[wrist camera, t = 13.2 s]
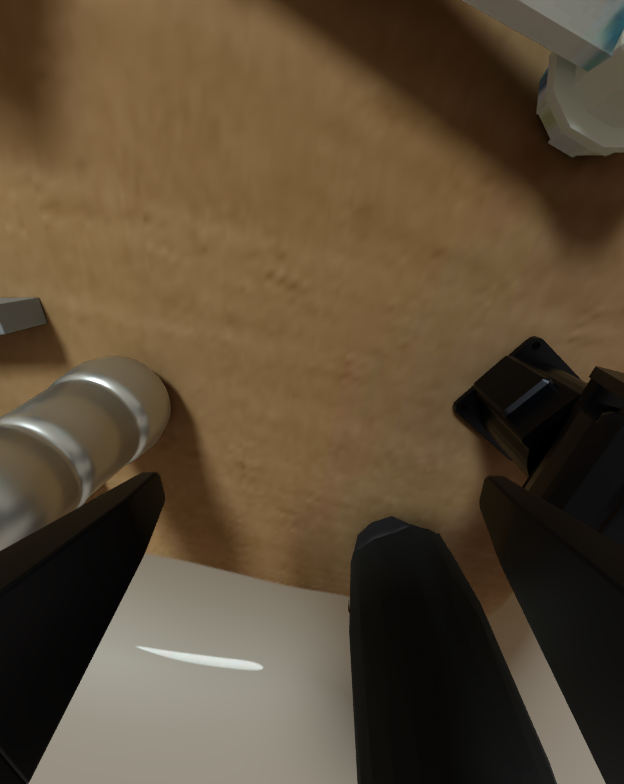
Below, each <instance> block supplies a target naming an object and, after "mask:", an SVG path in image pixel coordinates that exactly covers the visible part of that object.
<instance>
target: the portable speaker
mask: <svg viewBox="0 0 624 784" xmlns="http://www.w3.org/2000/svg"><path fill="white" fill-rule="evenodd" d="M348 611H349V613H350V626H349V628H350V629H349V634H350V652H351V672H352V689H353V707H354V726H355V744H356V763H357V781H358V784H557V783H556V780H555V777H554V774H553V771H552V768H551V766H550V763H549V760H548V758H547V756H546V753H545V751H544V749H543V747H542V744H541V742H540V740H539V737H538V735H537V733H536V730H535V728H534V726H533V723H532V721H531V719H530V717H529V714H528V712H527V710H526V707H525V705H524V703H523V700H522V698H521V696H520V694H519V691H518V689H517V687H516V684H515V682H514V680H513V677H512V675H511V673H510V670H509V668H508V666H507V664H506V661H505V659H504V657H503V654H502V652H501V650H500V647H499V645H498V643H497V641H496V638H495V636H494V633H493V631H492V629H491V626H490V624H489V622H488V620H487V617H486V615H485V613H484V610H483V608H482V606H481V603H480V602H479V600H478V598H477V597H476V595H475V593H474V591H473V590H472V588H471V586H470V584H469V583H468V581H467V579H466V577H465V576H464V574H463V572H462V570H461V569H460V567H459V565H458V564H457V562H456V560H455V558H454V557H453V555H452V553H451V552H450V550H449V549H448V547H447V546H446V544H445V542H444V541H443V539H442V538H441V536H440V534H439V533H438V534H436V533H434V532H432V531H430V530H428V529H424V528H420V527H417V526H414V525H411V524H408V523H406V522H403V521H401V520H399V519H397V518H395V517H392V516H391V517H388V518H385V519H382V520H379V521H376V522H373V523H371V524H370V525H368V526H367V527H366V528H365V529H364V530H363V531H362V532H361V533H360V534H358V537H357V541H356V546H355V550H354V552H353V556H352V560H351V576H350V608H349V606H348Z"/></svg>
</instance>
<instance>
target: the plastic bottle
mask: <svg viewBox="0 0 624 784" xmlns="http://www.w3.org/2000/svg"><path fill="white" fill-rule="evenodd" d="M170 414H171V403H170V398H169V395H168V392H167V390H166V388H165V385H164V384H163V382H162V381H161V379H160V378H159V377H158V376H157V375H156V374H155V373H154V372H153V371H152V370H151V369H149V368H148V367H146V366H145V365H143V364H141V363H139V362H137V361H135V360H132V359H129V358H125V357H119V356H113V357H105V358H100V359H95V360H90V361H87V362H83V363H81V364H80V365H78V366H76V367H74V368H73V369H71V370H70V371H68V372H67V373H66V374H64V375H63V376H61V377H60V378H59V379H58V380H57V381H55V382H54V383H53V384H52V385H51V386H50V387H49V388H48V389H46V390H45V391H43V392H41V393H40V394H38V395H37V396H35V397H33V398H32V399H30V400H29V401H27V402H25V403H24V404H22V405H20V406H19V407H17V408H16V409H14V410H12V411H11V412H9V413H7V414H6V415H4V416H2V417H0V551H1V550H3V549H5V548H6V547H8V546H10V545H12V544H14V543H15V542H17V541H19V540H21V539H23V538H24V537H26V536H28V535H30V534H32V533H34V532H35V531H37V530H39V529H41V528H43V527H44V526H46V525H48V524H50V523H52V522H53V521H55V520H57V519H59V518H61V517H62V516H64V515H66V514H68V513H70V512H71V511H73V510H75V509H77V508H79V507H80V506H82V505H83V504H84V502H85V501H86V500H87V499H88V498H89V497H90V496H91V495H92V494H93V493H94V492H95V491H97V490H98V489H99V488H100V487H101V486H102V485H103V484H105V483H106V482H107V481H108V480H109V479H110V478H111V477H113V476H114V475H115V474H116V473H117V472H118V471H119V470H121V469H122V468H123V467H124V466H125V465H127V464H129V463H131V462H132V461H134V460H135V459H137V458H138V457H139V456H141V455H142V454H143V453H145V452H146V451H147V450H148V449H150V448H151V447H152V446H153V445H155V443H156V442H157V441H158V440H159V439H160V437H161V435H162V433H163V431H164V429H165V427H166V425H167V423H168V421H169V418H170Z"/></svg>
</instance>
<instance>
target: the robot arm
mask: <svg viewBox="0 0 624 784" xmlns="http://www.w3.org/2000/svg"><path fill="white" fill-rule="evenodd" d="M535 342H537V345H536V346H535V347H534V348H532V345H533V343H535ZM589 377H590V378H591V379H590V381H589V382H588V383H586V382H584V381H582V380H581V379H580V378H579V377H578V376H577V375H576V374H575V373H574V372H573V371H572V370H571V369H570V368H569V366H568V365H567V364H566V363H565V362H564V361H563V360H562V359H561V358H560V357H559V356H558V355H557V354H556V353H555V352H554V351H553V349H552V348H551V347H550V346H549V345H548V344H547V343H546V342H545V341H544V340H543V339H541V338H539V337H536V336H533V337H530V338H528V339H527V340H526V341H525V342H523V343H522V344H521V345H520V346H519V347H518V348H516V349H515V350H514V351H513V352H512V353H511V354H509V355H508V356H505V357H504V358H503V359H501V360H500V361H499V362H498V363H497V364H496V365H495V366H493V367H492V368H491V369H490V370H489V371H488V372H486V373H485V374H484V375H483V376H482V377H481V378H479V379H478V380H477V381H476V382H475V383H474V385H473V386H472V387H471V388H470V389H469V390H468V391H467V392H465V393H464V394H463V395H462V396H461V397H460V398H458V399H457V400H456V401H455V402H454V404H453V408H454V410H455V411H456V412H457V413H458V414H459V415H460V416H461V417H462V418H463V419H465V420H466V421H467V422H468V423H469V424H470V425H471V426H472V427H473V428H475V429H476V430H477V431H478V432H479V433H480V434H481V435H482V436H484V437H485V438H486V439H487V440H488V441H489V442H490V443H491V444H493V445H494V446H495V447H496V448H497V449H498V450H499V451H500V452H502V453H503V454H504V455H505V456H506V457H507V458H508V459H510V460H511V461H514V462H515V464H516V465H517V466H518V467H519V468H520V469H521V470H522V471H523V473H524V474H525V475H526V476H527V477H528V479H527V480H526V482H525V484H524V485H523V487H521V486H519V485H517V484H516V483H514V482H512V481H510V480H509V479H507V478H505V477H503V476H487V477H486V478H485V480H484V483H483V488H482V492H481V496H480V509H481V512H482V515H483V517H484V520H485V523H486V526H487V529H488V531H489V534H490V537H491V540H492V543H493V545H494V548H495V551H496V554H497V556H498V559H499V561H500V564H501V566H502V568H503V570H504V573H505V575H506V577H507V579H508V581H509V583H510V585H511V587H512V589H513V591H514V593H515V596H516V598H517V600H518V602H519V604H520V606H521V608H522V610H523V612H524V614H525V616H526V618H527V621H528V623H529V625H530V627H531V629H532V631H533V633H534V635H535V637H536V639H537V641H538V643H539V645H540V647H541V650H542V652H543V653H544V656H545V658H546V660H547V662H548V664H549V666H550V668H551V670H552V673H553V674H554V677H555V679H556V681H557V683H558V685H559V687H560V689H561V691H562V693H563V695H564V697H565V699H566V702H567V704H568V706H569V708H570V710H571V712H572V714H573V716H574V718H575V720H576V722H577V724H578V726H579V729H580V731H581V733H582V735H583V737H584V739H585V741H586V743H587V745H588V747H589V749H590V751H591V754H592V756H593V758H594V760H595V762H596V764H597V766H598V768H599V770H600V772H601V774H602V776H603V778H604V781H605V783H606V784H624V373H621V372H617V371H613V370H609V369H605V368H601V367H597V366H595V368H594V370H593V371H592V373H591V374H590V376H589ZM462 404H465V406H464V407H463V408H461V409H459V407H460V405H462ZM164 502H165V493H164V489H163V485H162V481H161V477H160V475H159V473H157V472H142V473H140V474H138V475H136V476H135V477H133V478H131V479H129V480H127V481H126V482H124V483H122V484H120V485H118V486H117V487H115V488H113V489H111V490H109V491H108V492H106V493H104V494H102V495H100V496H98V497H97V498H95V499H93V500H91V501H89V502H88V503H86V504H84V505H82V506H80V507H79V508H77V509H75V510H73V511H71V512H70V513H68V514H66V515H64V516H62V517H61V518H59V519H57V520H55V521H53V522H52V523H50V524H48V525H46V526H44V527H43V528H41V529H39V530H37V531H35V532H34V533H32V534H30V535H28V536H26V537H24V538H23V539H21V540H19V541H17V542H15V543H14V544H12V545H10V546H8V547H6V548H5V549H3V550H1V551H0V784H28V783H29V782H30V780H31V778H32V776H33V774H34V772H35V769H36V768H37V766H38V764H39V762H40V760H41V758H42V756H43V754H44V752H45V750H46V748H47V746H48V744H49V742H50V740H51V738H52V736H53V734H54V732H55V730H56V728H57V726H58V724H59V723H60V720H61V719H62V716H63V715H64V713H65V711H66V708H67V707H68V705H69V703H70V701H71V699H72V697H73V695H74V693H75V691H76V689H77V687H78V685H79V683H80V681H81V679H82V677H83V675H84V673H85V671H86V669H87V667H88V665H89V663H90V661H91V659H92V657H93V655H94V653H95V651H96V649H97V647H98V645H99V643H100V642H101V639H102V637H103V636H104V634H105V632H106V630H107V627H108V625H109V624H110V622H111V620H112V618H113V616H114V614H115V612H116V610H117V608H118V606H119V604H120V602H121V600H122V598H123V596H124V594H125V592H126V590H127V588H128V586H129V584H130V582H131V580H132V578H133V576H134V574H135V572H136V570H137V568H138V566H139V564H140V562H141V560H142V558H143V556H144V554H145V552H146V549H147V547H148V544H149V542H150V539H151V536H152V534H153V531H154V529H155V526H156V523H157V521H158V518H159V516H160V513H161V510H162V508H163V505H164Z"/></svg>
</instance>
